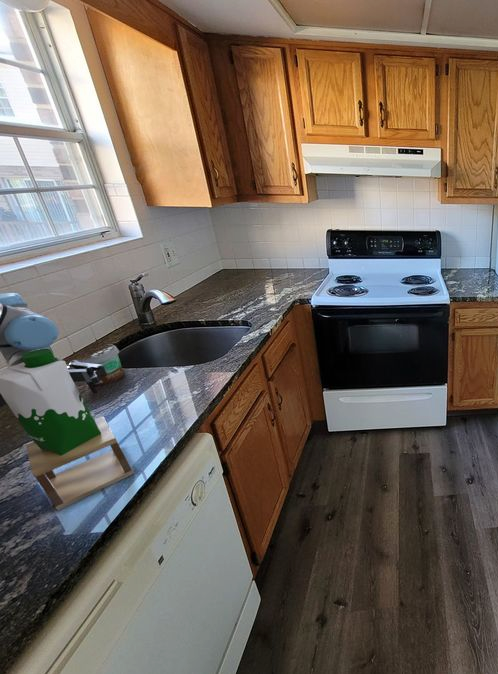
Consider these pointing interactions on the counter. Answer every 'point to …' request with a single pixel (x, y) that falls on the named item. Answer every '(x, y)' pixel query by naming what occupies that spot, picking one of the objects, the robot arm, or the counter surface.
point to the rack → (79, 468)
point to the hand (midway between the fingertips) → (46, 402)
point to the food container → (106, 364)
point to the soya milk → (47, 402)
